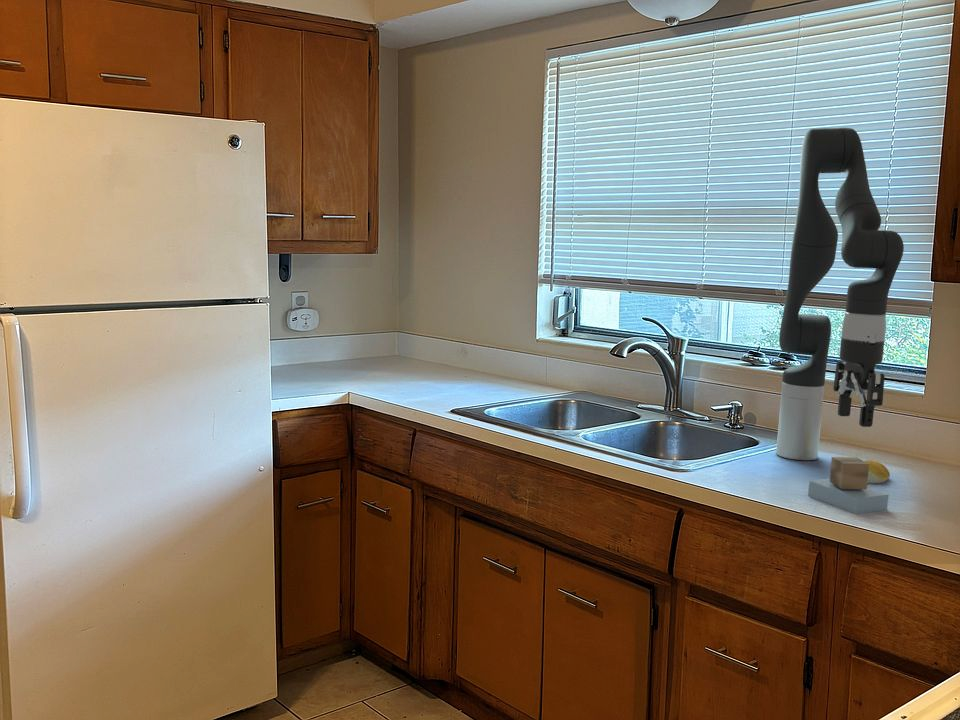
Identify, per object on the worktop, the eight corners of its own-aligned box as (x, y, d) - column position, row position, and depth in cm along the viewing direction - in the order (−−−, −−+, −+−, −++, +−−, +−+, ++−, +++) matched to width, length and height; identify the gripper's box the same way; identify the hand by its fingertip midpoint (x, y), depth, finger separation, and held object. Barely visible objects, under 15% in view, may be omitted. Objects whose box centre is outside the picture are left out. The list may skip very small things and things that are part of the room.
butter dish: (807, 497, 177) (809, 479, 176) (837, 494, 180) (839, 475, 179) (855, 516, 166) (857, 496, 165) (886, 512, 169) (888, 492, 169)
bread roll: (891, 478, 193) (893, 460, 192) (882, 487, 186) (884, 468, 185) (851, 471, 198) (853, 453, 197) (841, 479, 190) (843, 461, 190)
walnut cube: (829, 481, 175) (831, 456, 174) (854, 482, 175) (856, 457, 174) (841, 488, 170) (843, 463, 169) (866, 489, 170) (869, 463, 169)
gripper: (826, 331, 175) (818, 412, 177) (862, 342, 161) (853, 429, 163) (863, 332, 175) (854, 413, 178) (902, 343, 161) (892, 430, 164)
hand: (854, 421), depth 170 cm, fingers open, 8 cm apart
